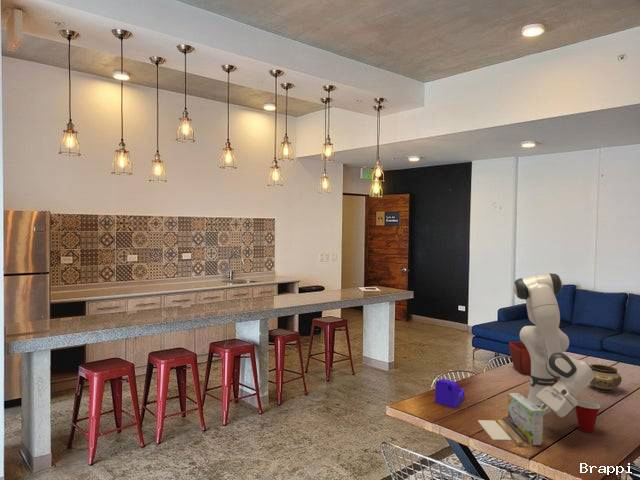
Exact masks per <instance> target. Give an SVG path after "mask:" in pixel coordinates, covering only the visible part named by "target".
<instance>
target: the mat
mask: <svg viewBox="0 0 640 480" xmlns="http://www.w3.org/2000/svg"><path fill="white" fill-rule="evenodd" d="M477 422H478V423H479V424H480V425H479V426H481V427H482V428H483V430H484V431H485V432H486V433H487V434H488V436H489V437H490V438H491V440H492V441H513V440H512V439H511V438H510V437H509V436H508V435H507V434H506V432H505V431H504V430H503V429H502V428H501V427H500V426H499V425H498V421H497V422H496V420H493V419H491V420H485V419H482V420H481V419H478V420H477Z"/></svg>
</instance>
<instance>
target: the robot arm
mask: <svg viewBox="0 0 640 480" xmlns="http://www.w3.org/2000/svg"><path fill="white" fill-rule="evenodd" d="M562 291H563V280H562V279H561V278H560V276H559V275H558V274H557V273H548V274H536V275H531V276H527V277H526V276H525V277H522V278H521V277H520V278H517V279H516V280H514V283H513V293H514V294H515V295H516V298H518V299H519V300H525V305H526V311H527V316H528V317H527V318H528V320H529V321H530V322H531V323H532V324H534V325H525V326H523V327H522V328H521V330H520V331H519V340H520V342H523V344H524V345H525V346H526V348H527V350H528V352H529V355H530V358H531V374H530V375H529V388H528V389H529V391H528V394H527V398H526V399H527V400H529V401H530V402H532V403H533V404H534V405H536V406H537V407H539V408H540V409H541V410H543V417H544V416H545V415H547V414H549V413H551V412H553V413H554V414H556V415H557V416H558V417H559V418H563V417H565V416H566V415H568V414H569V413H570V412H571V411H572V410H573V409H575V407H576V406H577V405H578V402H577V401H578V400H577V398H576V397H577V395H578V394H579V393H580V392H581V391H582V390H584V389H586V387H588V386H589V385H590V382H591V381H592V380H593V378H594V371H593V370H592V368H591V367H590V364H589V363H587V361H584V360H580V359H576V358H573V357H571V356H569V355H567V354H565V353H564V352H566V351H567V350H568V348H569V346H570V339H569V336H568V335H567V334H566V333H565V332H563V331H562V330H561V329H560V323H561V314H560V308H559V304H558V300H557V298H556V295H558V294H560V293H561V292H562ZM546 350H547V352H546Z"/></svg>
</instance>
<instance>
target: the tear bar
mask: <svg viewBox="0 0 640 480" xmlns="http://www.w3.org/2000/svg"><path fill="white" fill-rule="evenodd" d="M497 424H498V425H499V426H500V427H501V428H502V429H503V430H504V431H505V433H506V434H507V435H508V436H509V437H510V438H511V439H512V440H511V441H513V443H514V444H515V445H516V446H517V447H527V445H528V444H527V443H528V442H527V439H526V438H525V437H524V436H523V435H522V434H521V433H520V432H519V431H518V430H517V429H516V428H515V427H514V426H513V425H512V424H511V422H510V421H509V420H508V417H506V416H503V419H497Z"/></svg>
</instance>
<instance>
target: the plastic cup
mask: <svg viewBox="0 0 640 480" xmlns="http://www.w3.org/2000/svg"><path fill="white" fill-rule="evenodd" d="M577 402H578V405H577V406H576V407H574V409H575V413H576V421H577V425H578V426H577V427H578V429H579V431H582V432H586V433H593V432H594V430H595V426H596V422H597V418H598V415H599V412H600V409H601V405H599V404H598V403H595V402H591V401H585V400H577Z"/></svg>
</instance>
